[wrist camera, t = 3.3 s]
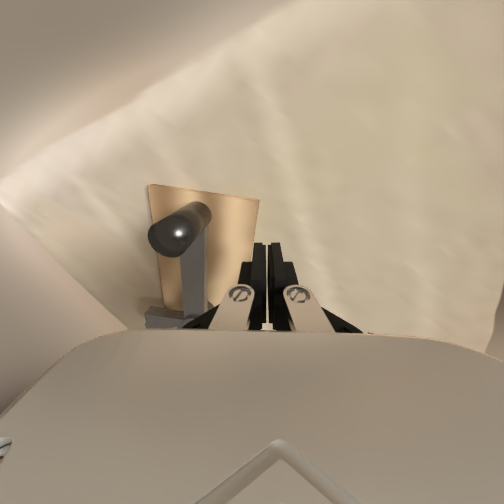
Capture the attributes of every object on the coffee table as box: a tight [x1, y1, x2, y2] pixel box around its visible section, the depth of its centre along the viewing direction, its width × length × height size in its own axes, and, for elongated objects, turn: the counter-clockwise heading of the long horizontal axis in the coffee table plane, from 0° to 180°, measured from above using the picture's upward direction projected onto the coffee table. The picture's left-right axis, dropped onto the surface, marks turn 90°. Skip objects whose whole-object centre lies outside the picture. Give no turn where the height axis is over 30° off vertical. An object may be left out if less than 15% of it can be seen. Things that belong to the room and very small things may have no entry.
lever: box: [145, 201, 214, 329], centre depth 21 cm, size 10×20×8 cm, turn 173°
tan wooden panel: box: [147, 184, 260, 311], centre depth 26 cm, size 13×30×5 cm, turn 173°
